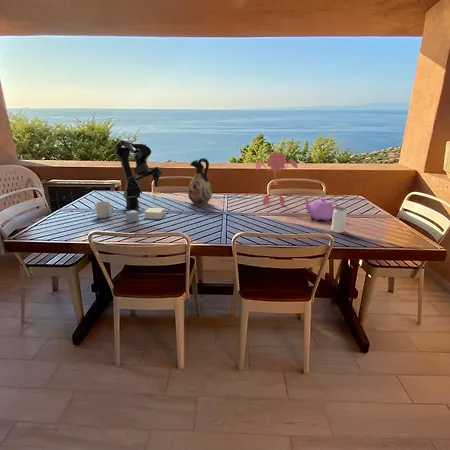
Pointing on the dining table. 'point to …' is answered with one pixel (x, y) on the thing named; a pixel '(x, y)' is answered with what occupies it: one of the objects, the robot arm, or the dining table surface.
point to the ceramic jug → (200, 185)
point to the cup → (103, 209)
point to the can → (339, 220)
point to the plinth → (154, 213)
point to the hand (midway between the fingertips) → (148, 190)
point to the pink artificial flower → (275, 163)
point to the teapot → (321, 209)
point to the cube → (132, 216)
